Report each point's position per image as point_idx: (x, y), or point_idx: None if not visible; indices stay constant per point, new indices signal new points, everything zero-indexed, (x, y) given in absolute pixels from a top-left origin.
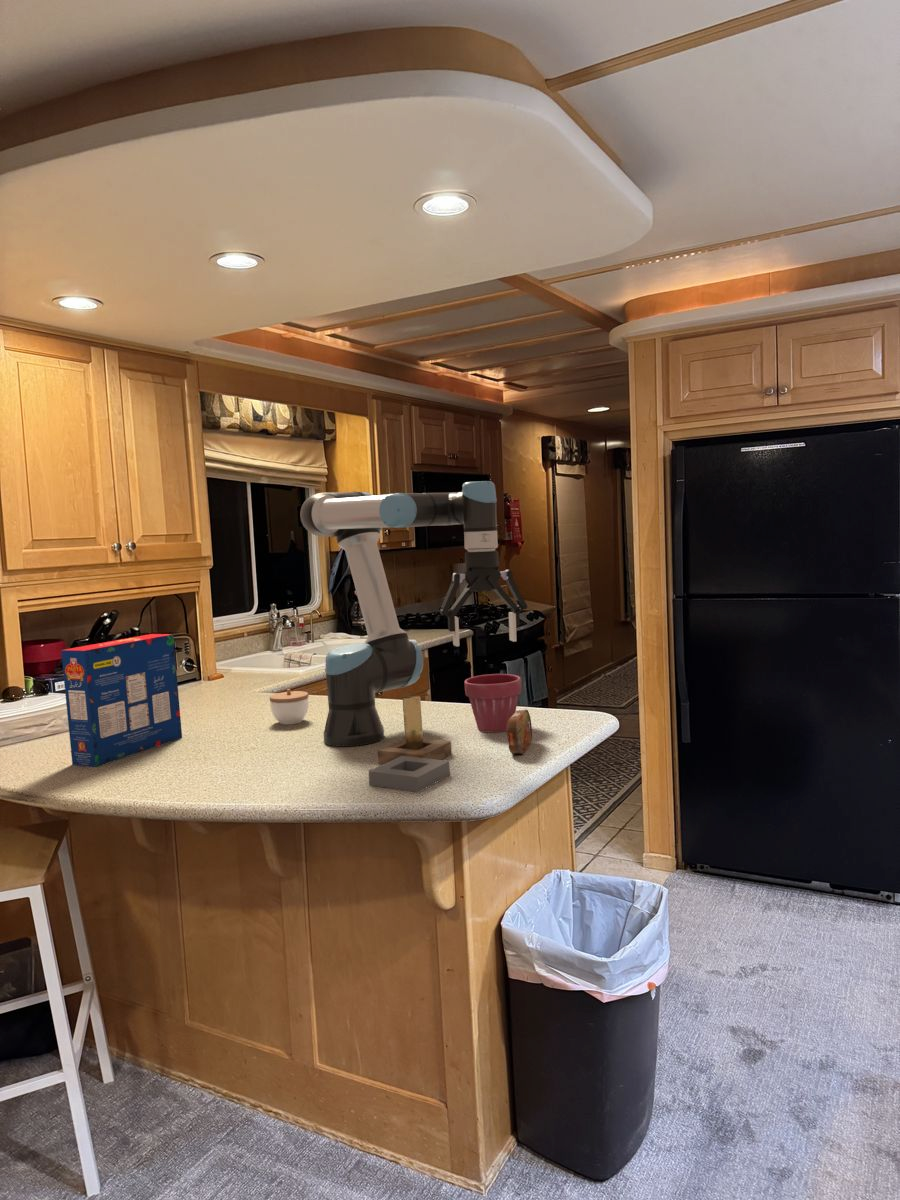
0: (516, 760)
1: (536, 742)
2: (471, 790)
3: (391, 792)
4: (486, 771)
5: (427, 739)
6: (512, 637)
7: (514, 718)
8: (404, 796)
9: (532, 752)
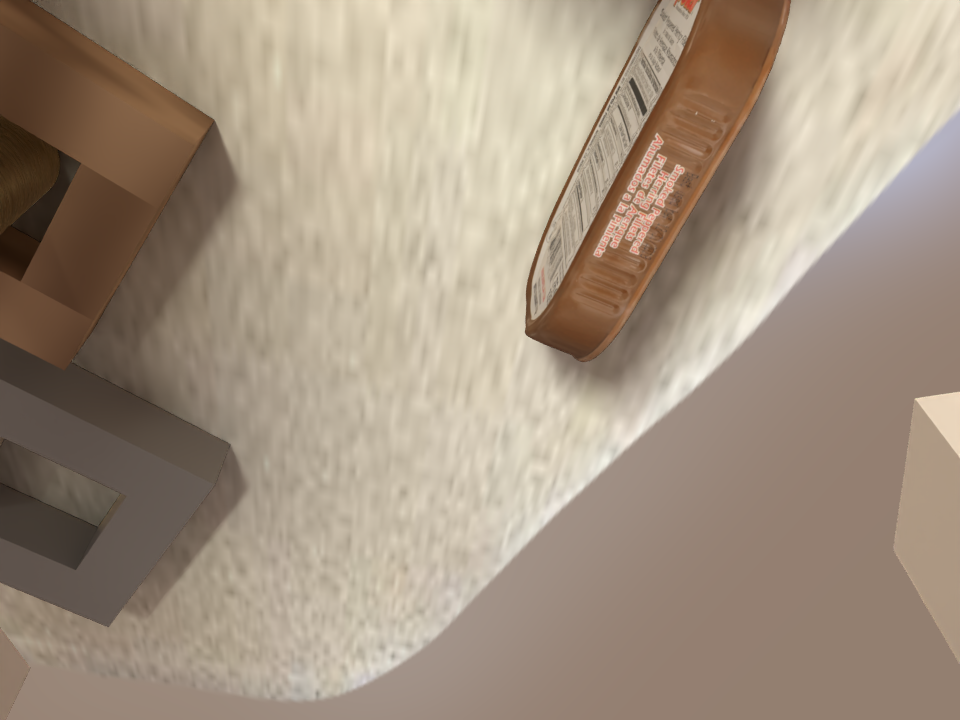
0: None
1: None
2: (317, 601)
3: None
4: (387, 435)
5: (23, 49)
6: (927, 567)
7: (597, 310)
8: None
9: None
